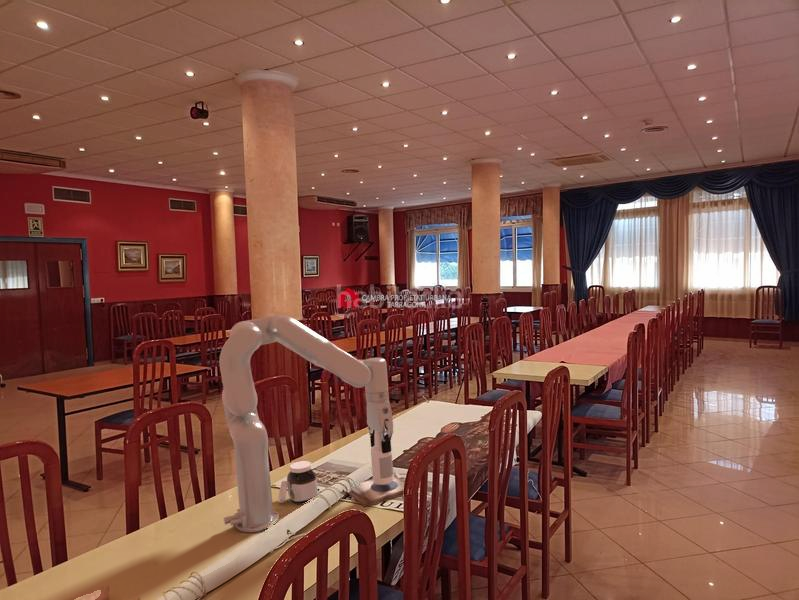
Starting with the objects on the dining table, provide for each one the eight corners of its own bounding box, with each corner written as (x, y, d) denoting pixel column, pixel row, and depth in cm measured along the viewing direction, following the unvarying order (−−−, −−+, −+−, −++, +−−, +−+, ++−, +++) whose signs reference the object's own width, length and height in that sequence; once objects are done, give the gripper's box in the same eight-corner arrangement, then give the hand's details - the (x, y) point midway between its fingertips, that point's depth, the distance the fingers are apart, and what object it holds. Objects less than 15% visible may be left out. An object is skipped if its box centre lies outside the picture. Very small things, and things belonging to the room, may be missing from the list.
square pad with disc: (364, 507, 168) (364, 501, 168) (342, 490, 181) (342, 484, 181) (413, 491, 177) (413, 485, 177) (389, 476, 191) (388, 470, 190)
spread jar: (321, 500, 175) (318, 464, 175) (291, 512, 168) (287, 475, 167) (302, 490, 184) (299, 456, 184) (272, 501, 177) (269, 466, 176)
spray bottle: (391, 485, 175) (387, 430, 174) (370, 484, 176) (366, 430, 175) (395, 476, 182) (391, 424, 180) (375, 476, 183) (372, 424, 182)
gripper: (400, 398, 172) (404, 453, 173) (374, 389, 186) (378, 440, 188) (380, 403, 168) (384, 459, 169) (355, 393, 183) (358, 445, 184)
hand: (380, 448), depth 178 cm, fingers closed on spray bottle, 6 cm apart
